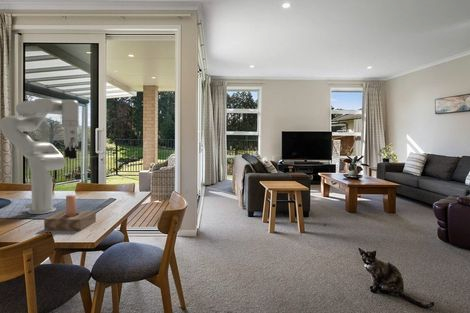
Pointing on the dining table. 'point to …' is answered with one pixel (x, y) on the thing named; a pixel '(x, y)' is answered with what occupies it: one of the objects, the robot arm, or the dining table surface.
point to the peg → (71, 206)
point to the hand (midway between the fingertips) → (70, 157)
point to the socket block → (70, 221)
